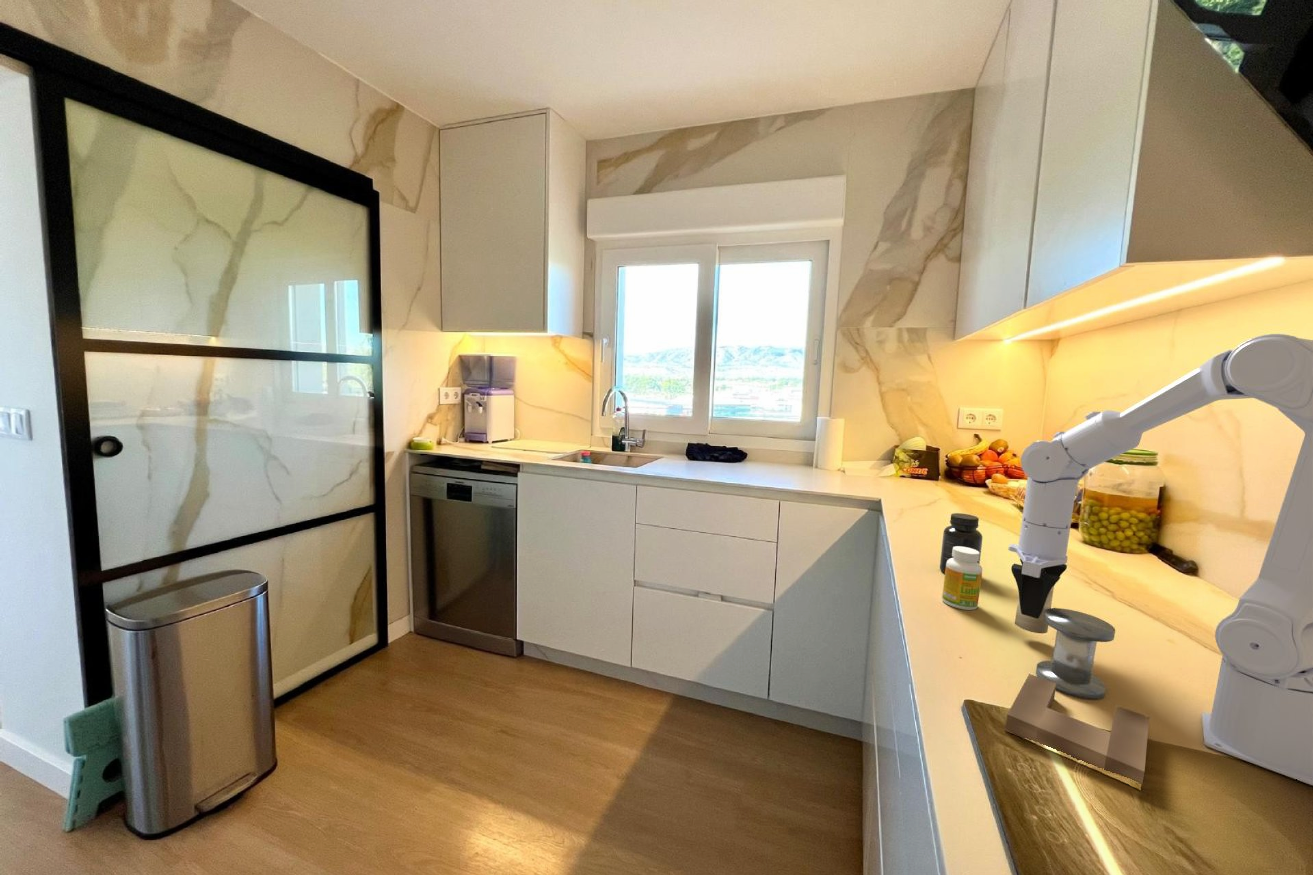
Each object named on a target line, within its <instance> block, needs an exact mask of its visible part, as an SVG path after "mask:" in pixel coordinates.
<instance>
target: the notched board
mask: <svg viewBox="0 0 1313 875" xmlns="http://www.w3.org/2000/svg"><path fill="white" fill-rule="evenodd" d="M1027 675H1028V676H1027V677H1026V679H1025V681H1024V683H1023V684H1022V686H1021V688H1020V690H1019V691H1018V694H1017V696H1016V697H1015V699H1014V701H1013V703H1012V704H1011V707H1010V709H1009V711H1008V712H1007V715H1006V721H1005V727H1004V730H1005V729H1006V730H1008V731H1010V732H1012V733H1013V734H1016V735H1017V736H1020V737H1022V738H1027V739H1029V740H1033V741H1035V742H1039V743H1040V744H1043V745H1046V746H1048V747H1051V748H1053V749H1056V750H1057V751H1061V752H1063V753H1066V754H1067V755H1071V757H1073V758H1076V759H1077V760H1082V761H1084V762H1086V763H1088V764H1092V765H1094V766H1097V767H1098V768H1102V769H1103V768H1104V770H1106V771H1110V772H1112V773H1116V774H1119V775H1121V776H1124V777H1127V778H1130V779H1132V780H1134V781H1136V782H1138V783H1139V784H1141V785H1142V786H1143V782H1144V776H1145V769H1146V760H1147V759H1146V758H1147V749H1148V748H1147V747H1148V735H1149V727H1150V726H1149V725H1150V724H1149V722H1150V716H1146V715H1145V714H1141V713H1139V712H1136V711H1134V710H1130V709H1128V708H1125V707H1123V706H1119V705H1116V706H1115V709H1114V710H1115V711H1114V716H1113V720H1112V725H1111V729H1110V731H1107V730H1105V729H1103V728H1099V727H1097V726H1094V725H1092V724H1090V723H1087V722H1084V721H1081V720H1079V719H1078V718H1077V719H1076V718H1074V717H1072V716H1069V715H1066V714H1064V713H1061V712H1059V711H1056V710H1054V709H1052V705H1053V703H1054V700H1055V697H1056V696H1055V695H1056V691H1057V690H1056V683H1054V682H1051V681H1048V680H1045V679H1042V678H1040V677H1037V675H1034V674H1031V673H1028V674H1027ZM1017 736H1016V737H1017Z"/></svg>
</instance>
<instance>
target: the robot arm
mask: <svg viewBox="0 0 1313 875" xmlns="http://www.w3.org/2000/svg"><path fill="white" fill-rule="evenodd" d="M1238 399H1255V400H1257V401H1260V402H1263V403H1265V404H1268V405H1270V406H1272V407H1274V408H1276V409H1277V410H1278V411H1279V412H1280V413H1281V414H1283V415H1284V416H1285V417H1286V418H1288V419H1289V421H1291V422H1292V423H1294V424H1295V425H1296V426H1297V427H1298V428H1300V430H1302V431H1303V432H1304V437H1303V440H1302V444H1301V446H1300V450H1299V452H1298V456H1297V458H1296V461H1295V465H1294V467H1293V471H1292V474H1291V477H1290V480H1289V483H1288V485H1287V488H1286V492H1285V495H1284V499H1283V500H1282V501H1283V502H1282V504H1281V506H1280V510H1279V512H1278V516H1277V518H1276V521H1275V525H1274V528H1273V531H1272V534H1271V538H1270V540H1269V543H1268V546H1267V548H1266V549H1267V550H1266V552H1265V555H1264V558H1263V560H1262V561H1263V562H1262V564H1261V567H1260V570H1259V573H1258V576H1257V578H1256V580H1255V581H1254V582H1253V583H1252V584H1251V585H1250V586H1249V587H1248V589H1247V590H1245V591H1244V592H1243V594H1242V595H1241V596H1240V597H1239V599H1238V603H1237V605H1236V607H1235V609H1234V611H1233V612H1231V614H1229V615H1227V616H1226V617H1225V618H1223V619H1221V620H1220V621H1219V622H1218V624H1217V626H1216V628H1215V632H1214V638H1215V643H1216V645H1217V647H1218V649H1219V652H1220V654H1222V658H1221V662H1220V667H1219V673H1218V678H1217V683H1216V687H1215V691H1214V692H1215V693H1214V698H1213V702H1212V709H1211V713H1210V712H1206V711H1205V712H1202V714H1201V719H1202V723H1201V724H1202V733H1203V743H1204V745H1205V746H1206V747H1208V748H1209V749H1210V748H1211V749H1213V750H1216V751H1219V752H1221V753H1225V754H1226V755H1229V756H1232V757H1235V758H1237V759H1240V760H1243V761H1246V762H1249V763H1251V764H1254V765H1256V766H1258V767H1262V768H1263V769H1266V770H1270V771H1272V772H1275V773H1278V774H1281V775H1282V776H1283V775H1284V776H1286V777H1288V778H1290V779H1294V780H1296V779H1297V781H1299V782H1302V783H1305V784H1307V785H1310V786H1313V339H1308V338H1299V337H1297V336H1294V335H1290V334H1284V333H1269V334H1262V335H1259V336H1255V337H1252V338H1250V339H1248V340H1246V341H1245V340H1244V342H1242V343H1240V344H1239V345H1238V346H1236V347H1235V348H1234V349H1231V350H1230V349H1228V350H1226V351H1223V352H1220V353H1218V354H1215V355H1214V356H1212V357H1211V358H1210V359H1208V360H1207V361H1206V362H1204V363H1202V364H1201V365H1200V366H1198V367H1197V368H1195V369H1193V370H1192V371H1190V372H1188V373H1187V374H1185V375H1183V376H1182V377H1179V378H1178V379H1177V380H1175V381H1173V382H1172V383H1169V384H1168V385H1167V386H1164V387H1163V388H1161V389H1159V390H1158V391H1155V393H1152V394H1151V395H1149V396H1147V397H1146V398H1144V399H1143V400H1141V401H1139V402H1138V403H1135V404H1134V405H1132V406H1131V407H1129V408H1127V409H1125V410H1124V411H1122V412H1121V411H1116V410H1111V409H1110V410H1109V409H1107V410H1104V411H1103V410H1102V411H1092V412H1089V413H1088V414H1086V415H1085V416H1084V417H1085V419H1086V420H1085V421H1083V422H1082V423H1080V424H1077V425H1076V426H1073V427H1072V428H1070V429H1068V430H1066V431H1058V432H1056V433H1055V434H1053V437H1054V438H1053V439H1052V440H1051V441H1049V440H1036V441H1033V442H1032V443H1031V444H1030V445H1028V446H1027V447H1025V449H1024V450H1023V452H1022V454H1021V457H1020V467H1021V469H1022V471H1023V472H1024V474H1025V475H1026V477H1027V481H1026V488H1025V495H1024V503H1023V509H1022V517H1021V525H1020V533H1019V539H1018V544H1015V543H1011V544H1009V545H1008V548H1007V550H1008V551H1010V552H1013V553H1016V554H1017V556H1018V557H1019V562H1020V563H1021V564H1018V563H1013V564H1012V565H1011V574H1012V576H1013V578H1014V580H1015V582H1016V586H1017V590H1018V597H1019V601H1020V609H1021V614H1023V615H1026V616H1030V617H1033V618H1036V619H1038V618H1039V616H1040V615H1041V613H1042V611H1043V608H1044V605H1045V602H1046V599H1047V596H1048V594H1049V592H1050V590H1051V589H1052V587H1053V586H1054V587H1055V586H1056V584H1057V583H1058V582H1059V581H1060V579H1061V576H1062V574H1063V573H1064V572H1065V571H1066V570H1067V568H1068V565H1067V563H1068V559H1069V558H1068V555H1067V552H1068V546H1069V540H1070V532H1071V524H1072V520H1073V519H1072V518H1073V513H1074V504H1075V497H1076V491H1078V485H1079V482H1080V481H1081V480H1082V479H1083V478H1085V476H1086V475H1087V474H1088V473H1089V472H1090V469H1093V468H1094V467H1096V466H1098V465H1101V464H1103V463H1105V462H1108V461H1110V460H1112V459H1113V458H1116V457H1118V456H1120V455H1123V454H1125V453H1127V452H1129V451H1131V450H1133V449H1135V448H1138V447H1139V445H1140V442H1141V440H1142V436H1143V433H1145V432H1148V431H1150V430H1152V429H1154V428H1157V427H1158V426H1162V425H1163V424H1166V423H1169V422H1170V421H1173V420H1176V419H1179V417H1182V416H1184V415H1187V414H1189V413H1191V412H1194V411H1196V410H1198V409H1200V408H1202V407H1205V406H1208V405H1209V404H1212V403H1215V402H1217V401H1224V400H1238Z"/></svg>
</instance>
